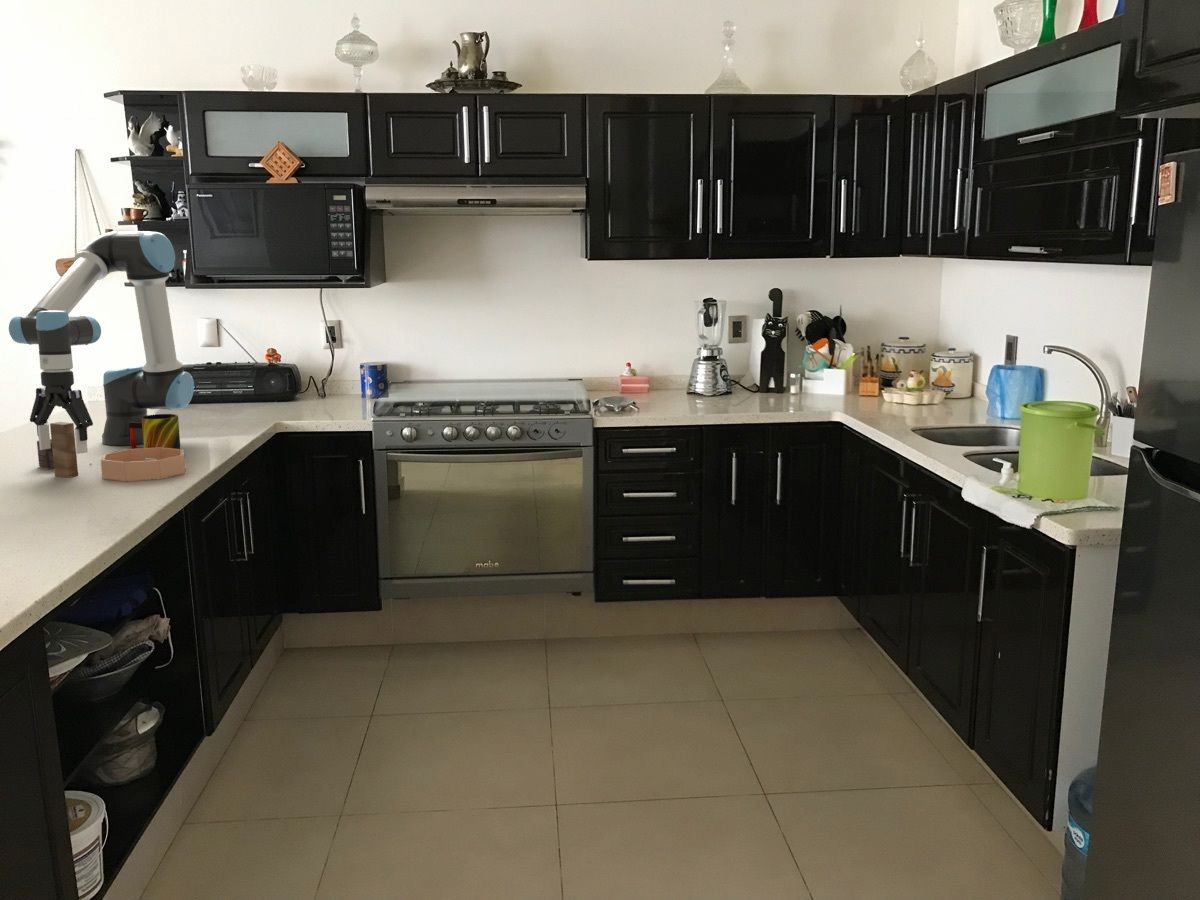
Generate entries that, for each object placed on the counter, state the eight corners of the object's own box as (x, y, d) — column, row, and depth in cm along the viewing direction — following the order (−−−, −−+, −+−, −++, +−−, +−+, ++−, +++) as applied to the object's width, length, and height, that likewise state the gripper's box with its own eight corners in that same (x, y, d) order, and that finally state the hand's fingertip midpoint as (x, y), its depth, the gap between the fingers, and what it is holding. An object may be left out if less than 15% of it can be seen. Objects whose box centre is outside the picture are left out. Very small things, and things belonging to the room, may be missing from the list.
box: (61, 463, 285) (59, 437, 283) (71, 466, 281) (68, 440, 280) (38, 466, 280) (36, 440, 279) (48, 469, 276) (45, 443, 275)
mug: (132, 455, 296) (128, 415, 294) (182, 453, 300) (180, 413, 298) (126, 462, 287) (123, 420, 285) (178, 459, 291) (175, 418, 289)
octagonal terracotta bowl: (146, 462, 286) (145, 445, 285) (202, 469, 278) (201, 451, 277) (84, 476, 268) (83, 458, 267) (142, 483, 260) (141, 464, 259)
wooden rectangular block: (64, 473, 272) (59, 421, 269) (78, 475, 270) (73, 423, 267) (54, 475, 269) (49, 423, 266) (68, 477, 267) (63, 424, 264)
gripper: (10, 369, 265) (17, 449, 269) (78, 374, 256) (85, 457, 259) (35, 367, 272) (42, 445, 276) (103, 371, 263) (110, 452, 266)
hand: (63, 451), depth 268 cm, fingers open, 13 cm apart
